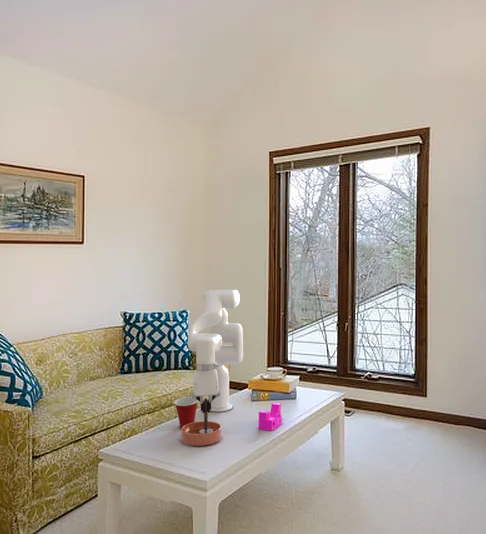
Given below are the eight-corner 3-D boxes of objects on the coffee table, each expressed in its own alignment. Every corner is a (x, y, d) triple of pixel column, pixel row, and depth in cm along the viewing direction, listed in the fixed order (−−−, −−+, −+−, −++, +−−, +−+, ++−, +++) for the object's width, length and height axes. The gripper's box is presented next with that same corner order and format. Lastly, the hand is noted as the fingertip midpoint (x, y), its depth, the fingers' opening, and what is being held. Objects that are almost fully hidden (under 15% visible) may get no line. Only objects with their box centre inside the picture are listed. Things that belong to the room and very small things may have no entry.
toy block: (271, 430, 212) (271, 413, 211) (258, 428, 214) (258, 411, 214) (285, 420, 225) (285, 404, 225) (273, 418, 228) (273, 402, 228)
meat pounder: (196, 438, 199) (196, 399, 199) (205, 434, 204) (204, 395, 204) (207, 441, 197) (206, 401, 196) (215, 436, 201) (215, 397, 201)
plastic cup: (169, 427, 217) (168, 400, 217) (189, 421, 225) (189, 395, 225) (183, 432, 210) (183, 404, 209) (203, 426, 217) (203, 399, 217)
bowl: (173, 442, 198) (172, 430, 198) (199, 430, 212) (198, 418, 212) (204, 449, 190) (204, 437, 190) (229, 436, 204) (229, 424, 204)
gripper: (223, 364, 206) (223, 407, 206) (185, 366, 202) (185, 410, 202) (225, 367, 198) (226, 413, 199) (186, 370, 194) (187, 416, 195)
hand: (205, 411), depth 200 cm, fingers closed on meat pounder, 1 cm apart
